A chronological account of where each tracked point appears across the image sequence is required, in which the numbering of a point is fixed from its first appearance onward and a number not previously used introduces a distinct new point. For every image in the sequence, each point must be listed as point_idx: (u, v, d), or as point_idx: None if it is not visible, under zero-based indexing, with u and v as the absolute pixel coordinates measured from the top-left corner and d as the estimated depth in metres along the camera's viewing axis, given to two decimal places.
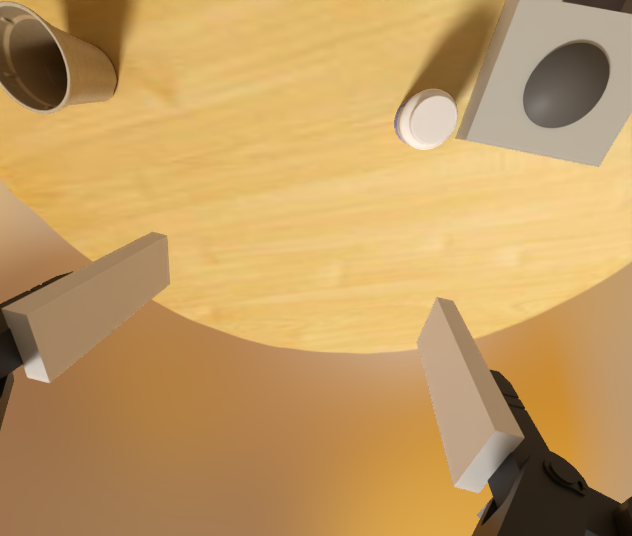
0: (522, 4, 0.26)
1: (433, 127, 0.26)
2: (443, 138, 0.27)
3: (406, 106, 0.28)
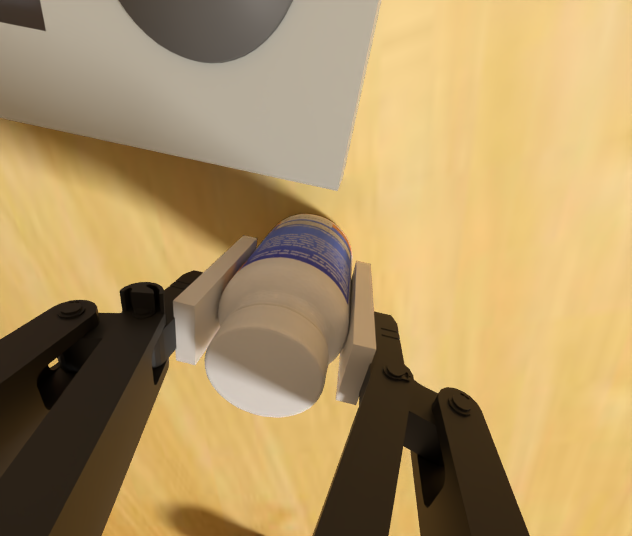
0: (78, 125, 0.12)
1: (279, 378, 0.09)
2: (307, 355, 0.09)
3: None
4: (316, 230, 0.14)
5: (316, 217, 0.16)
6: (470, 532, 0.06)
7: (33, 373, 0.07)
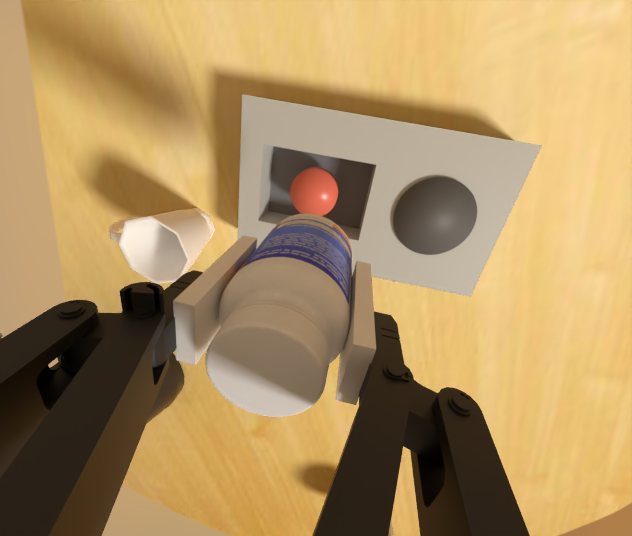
0: None
1: (280, 377, 0.09)
2: (308, 355, 0.09)
3: None
4: (316, 229, 0.14)
5: (317, 217, 0.16)
6: (470, 532, 0.06)
7: (33, 373, 0.07)
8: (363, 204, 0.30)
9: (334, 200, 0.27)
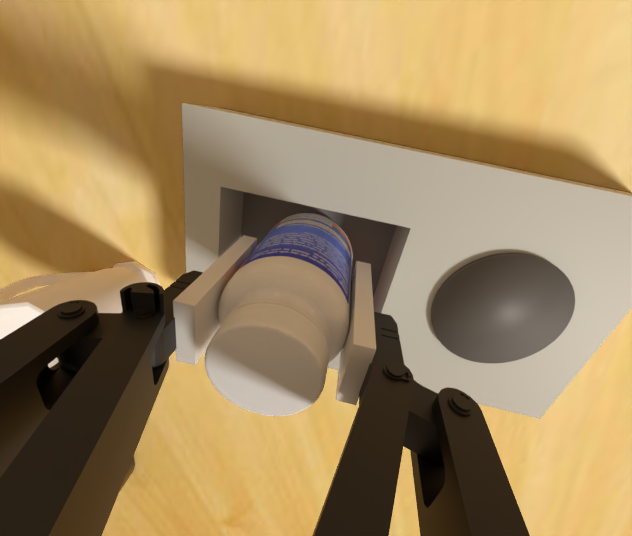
0: None
1: (279, 376, 0.09)
2: (307, 354, 0.09)
3: None
4: (316, 229, 0.14)
5: (316, 216, 0.16)
6: (470, 532, 0.06)
7: (33, 373, 0.07)
8: (380, 271, 0.20)
9: None
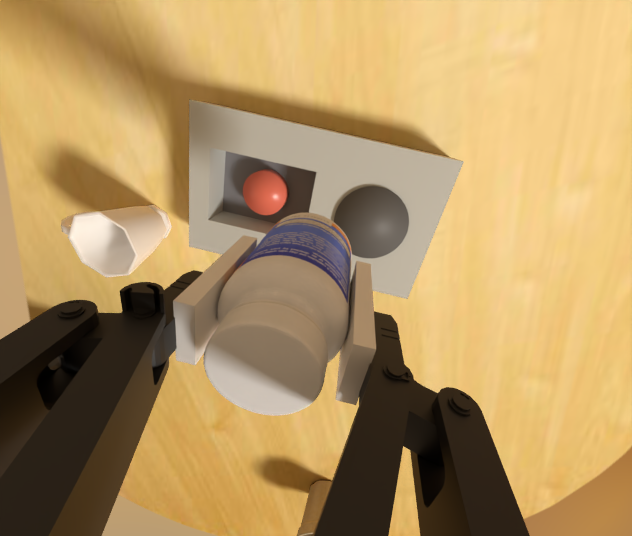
0: None
1: (278, 375, 0.09)
2: (306, 353, 0.09)
3: None
4: (315, 228, 0.14)
5: (316, 216, 0.16)
6: (470, 532, 0.06)
7: (33, 373, 0.07)
8: None
9: (283, 200, 0.30)
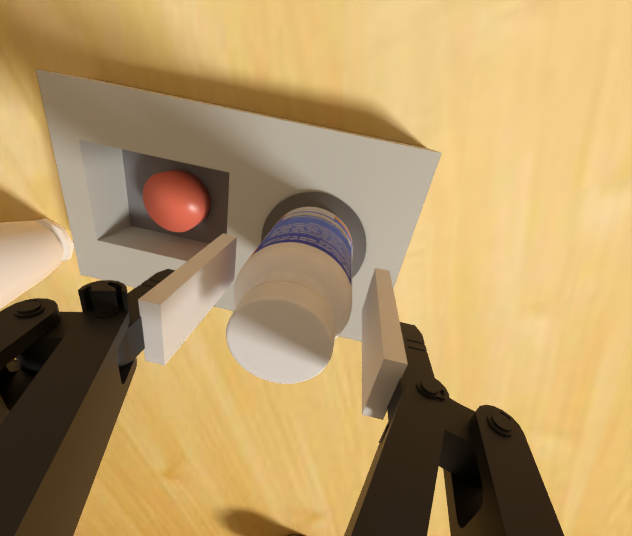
0: (231, 306, 0.23)
1: (293, 345, 0.10)
2: (318, 324, 0.10)
3: None
4: (320, 220, 0.15)
5: (319, 209, 0.17)
6: None
7: None
8: None
9: (197, 212, 0.21)
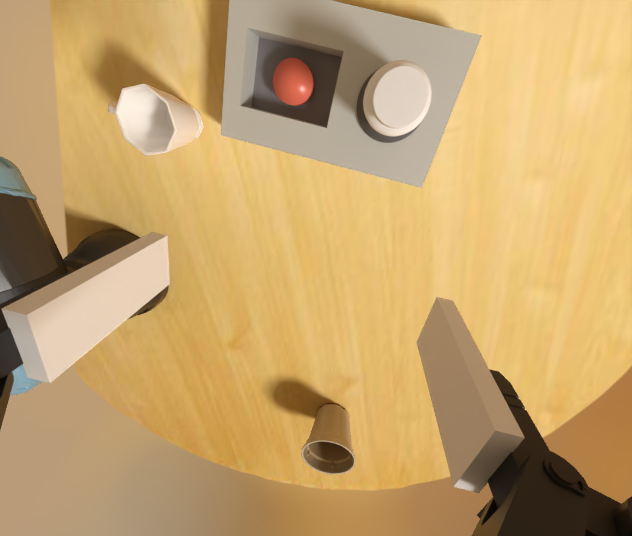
0: (325, 159, 0.33)
1: (408, 97, 0.21)
2: (424, 81, 0.20)
3: (377, 130, 0.24)
4: None
5: None
6: None
7: None
8: None
9: (309, 88, 0.32)
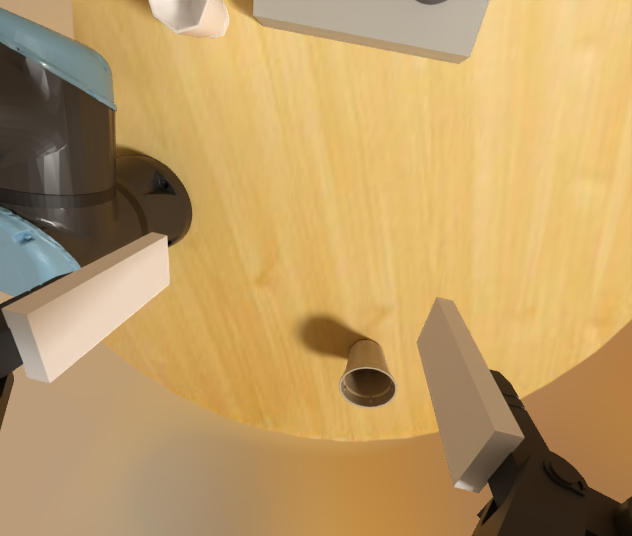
0: (366, 32, 0.31)
1: None
2: None
3: None
4: None
5: None
6: None
7: None
8: None
9: None
